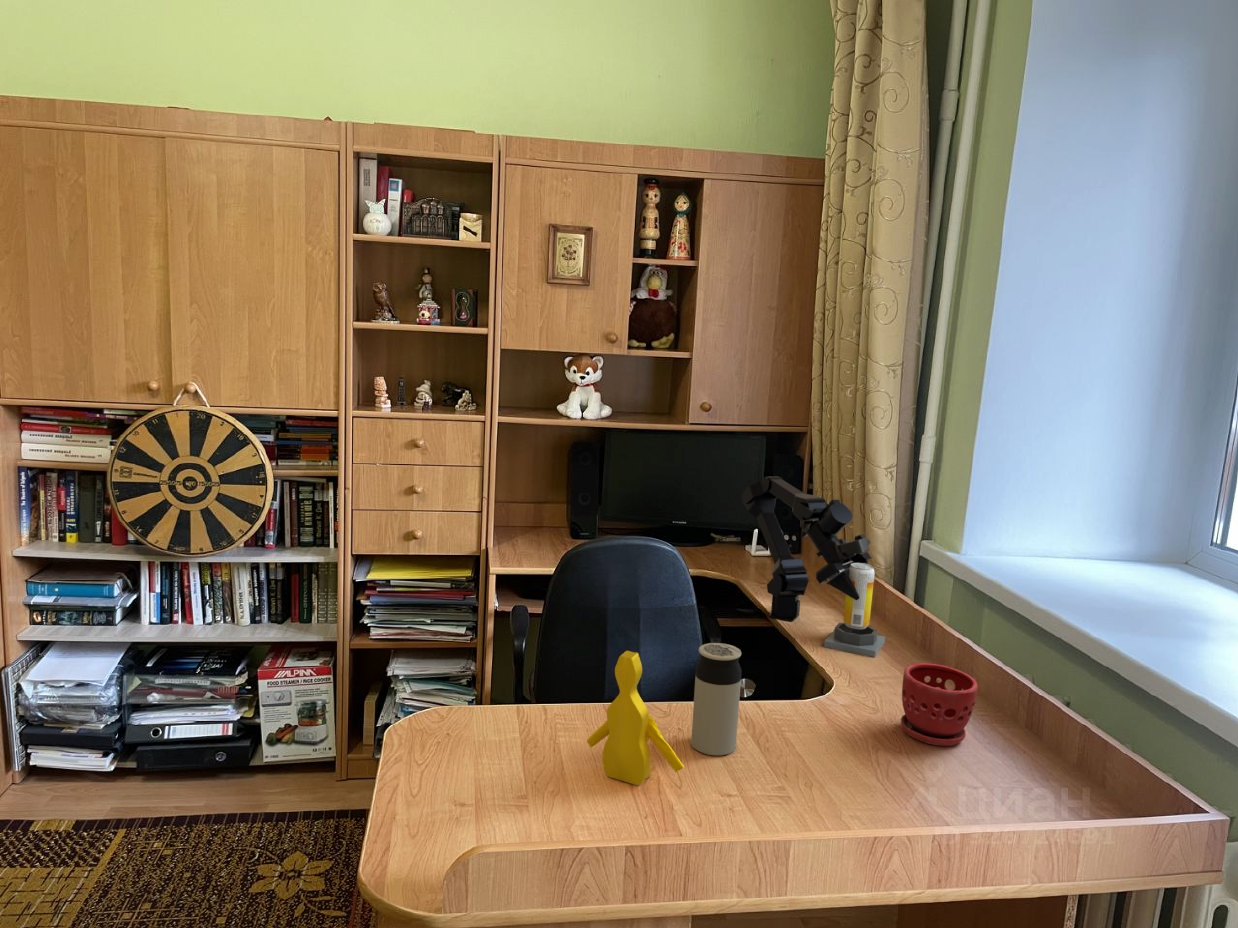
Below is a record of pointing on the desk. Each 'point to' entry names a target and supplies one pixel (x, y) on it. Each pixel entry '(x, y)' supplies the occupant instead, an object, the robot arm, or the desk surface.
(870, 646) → the collar dock
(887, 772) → the desk surface
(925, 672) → the plant pot
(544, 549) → the desk surface
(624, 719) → the figure statuette
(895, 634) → the desk surface
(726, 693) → the travel mug
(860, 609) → the beer can
